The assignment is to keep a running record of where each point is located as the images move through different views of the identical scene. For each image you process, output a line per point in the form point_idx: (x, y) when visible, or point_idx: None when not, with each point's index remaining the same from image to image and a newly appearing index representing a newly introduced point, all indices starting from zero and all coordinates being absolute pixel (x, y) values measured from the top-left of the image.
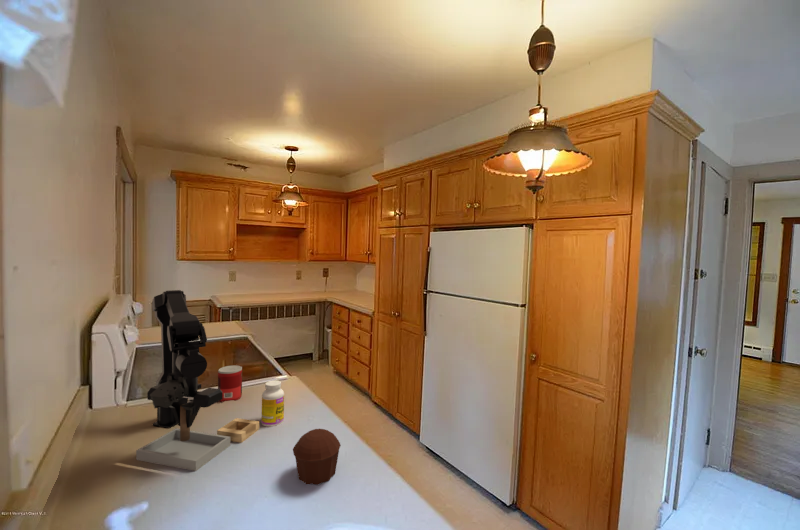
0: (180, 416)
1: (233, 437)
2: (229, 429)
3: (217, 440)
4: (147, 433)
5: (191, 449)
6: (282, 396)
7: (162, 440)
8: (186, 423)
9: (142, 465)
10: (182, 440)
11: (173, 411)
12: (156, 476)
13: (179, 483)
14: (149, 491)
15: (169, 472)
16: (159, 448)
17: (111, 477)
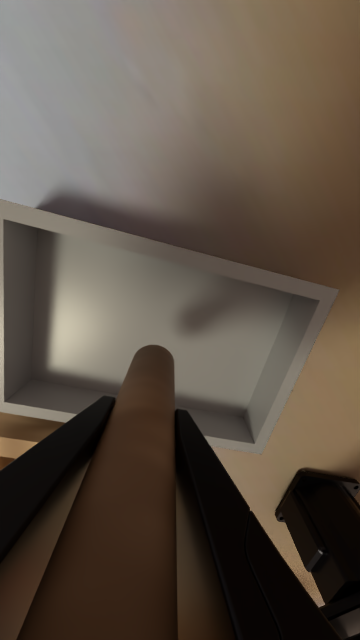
0: (154, 486)
1: (15, 421)
2: None
3: (59, 397)
4: (351, 442)
5: None
6: None
7: (272, 383)
8: (103, 416)
9: (270, 263)
10: (152, 346)
11: (281, 580)
12: (175, 187)
13: (47, 133)
14: (134, 66)
15: (141, 217)
16: (264, 357)
17: (343, 178)
